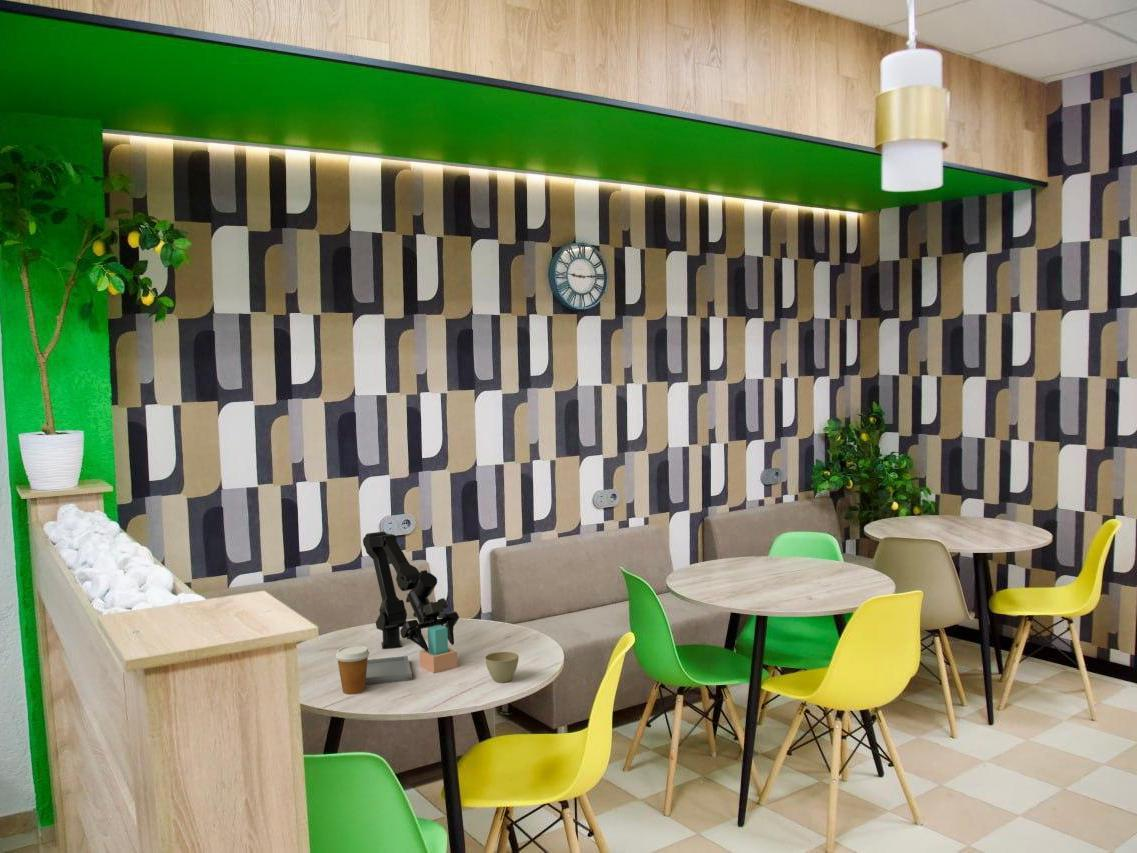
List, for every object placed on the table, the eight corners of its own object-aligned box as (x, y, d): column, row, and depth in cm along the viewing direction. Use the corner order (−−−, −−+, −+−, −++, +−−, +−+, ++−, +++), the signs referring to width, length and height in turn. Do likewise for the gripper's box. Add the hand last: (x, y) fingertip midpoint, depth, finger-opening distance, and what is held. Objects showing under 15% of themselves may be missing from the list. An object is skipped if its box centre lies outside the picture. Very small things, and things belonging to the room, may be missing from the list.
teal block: (429, 666, 285) (427, 627, 285) (441, 663, 288) (439, 624, 287) (436, 670, 282) (435, 630, 281) (448, 667, 285) (447, 627, 284)
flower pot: (526, 677, 273) (525, 654, 272) (505, 687, 265) (504, 663, 264) (499, 672, 278) (499, 649, 278) (478, 681, 270) (478, 658, 270)
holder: (420, 666, 286) (419, 651, 285) (443, 661, 291) (442, 645, 291) (433, 673, 279) (433, 657, 279) (457, 667, 284) (456, 651, 284)
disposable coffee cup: (362, 697, 259) (360, 655, 259) (331, 695, 261) (329, 654, 261) (375, 685, 269) (374, 645, 268) (345, 684, 271) (344, 644, 270)
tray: (356, 667, 287) (355, 660, 287) (407, 662, 290) (407, 655, 290) (357, 685, 269) (356, 679, 269) (412, 680, 273) (411, 673, 273)
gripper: (403, 596, 281) (422, 639, 273) (455, 586, 292) (475, 627, 285) (392, 616, 287) (410, 658, 279) (443, 606, 299) (462, 646, 291)
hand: (440, 647), depth 283 cm, fingers open, 9 cm apart
